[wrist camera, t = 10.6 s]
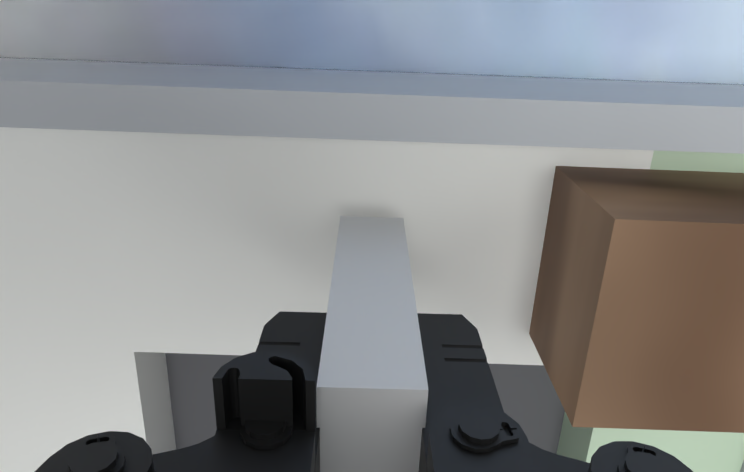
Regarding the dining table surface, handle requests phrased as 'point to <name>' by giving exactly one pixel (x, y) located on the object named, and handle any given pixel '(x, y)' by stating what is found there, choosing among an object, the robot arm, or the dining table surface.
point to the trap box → (294, 226)
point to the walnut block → (644, 298)
